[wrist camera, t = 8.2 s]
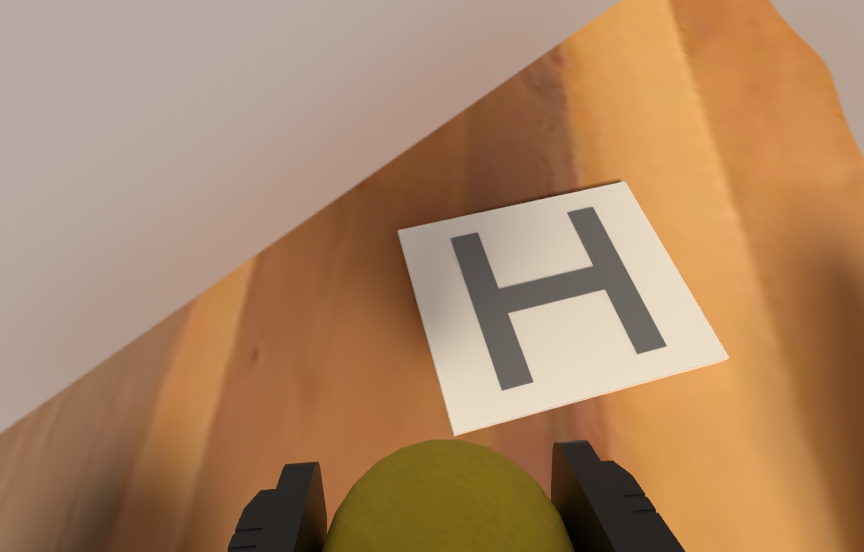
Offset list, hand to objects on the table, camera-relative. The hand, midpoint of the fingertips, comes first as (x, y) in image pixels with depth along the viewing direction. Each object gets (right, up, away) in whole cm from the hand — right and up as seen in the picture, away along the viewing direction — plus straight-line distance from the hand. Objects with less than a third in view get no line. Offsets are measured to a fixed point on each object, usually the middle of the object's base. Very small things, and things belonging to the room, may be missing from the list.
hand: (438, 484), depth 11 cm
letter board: (+7, +4, +17) cm, 19 cm away
